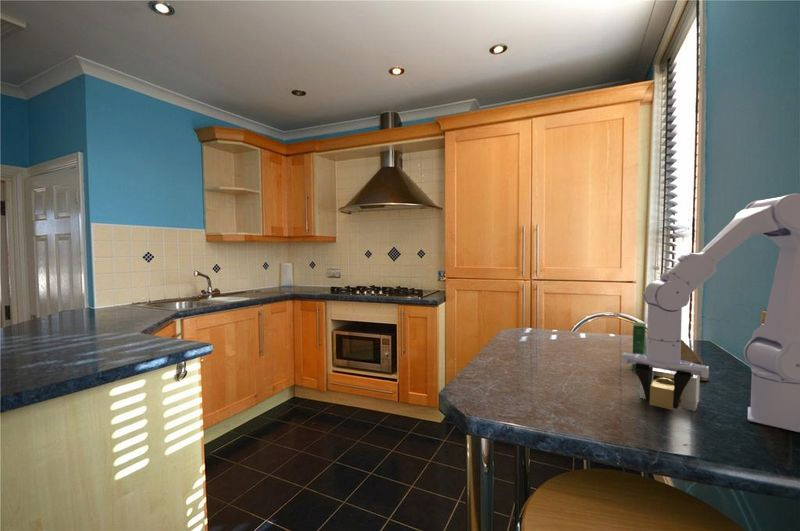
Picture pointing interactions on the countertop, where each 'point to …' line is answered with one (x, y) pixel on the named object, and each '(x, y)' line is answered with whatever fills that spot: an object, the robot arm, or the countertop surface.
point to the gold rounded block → (662, 392)
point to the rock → (690, 357)
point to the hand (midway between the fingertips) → (662, 403)
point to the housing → (689, 393)
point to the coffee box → (638, 340)
